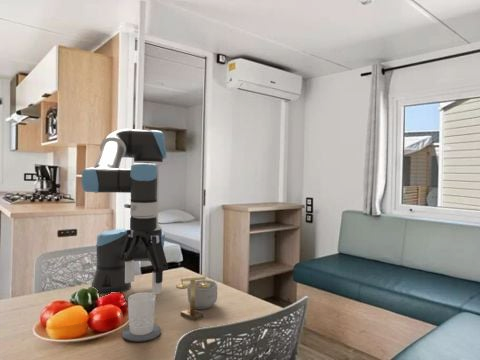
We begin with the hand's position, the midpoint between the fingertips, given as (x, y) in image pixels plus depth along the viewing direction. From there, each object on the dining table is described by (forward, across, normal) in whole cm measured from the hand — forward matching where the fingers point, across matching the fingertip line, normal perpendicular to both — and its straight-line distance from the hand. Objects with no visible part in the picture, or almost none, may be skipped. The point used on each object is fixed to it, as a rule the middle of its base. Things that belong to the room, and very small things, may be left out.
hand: (142, 287), depth 107 cm
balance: (+14, +2, +18) cm, 23 cm away
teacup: (+14, -3, +28) cm, 32 cm away
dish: (+14, +1, 0) cm, 14 cm away
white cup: (+13, 0, 0) cm, 13 cm away
